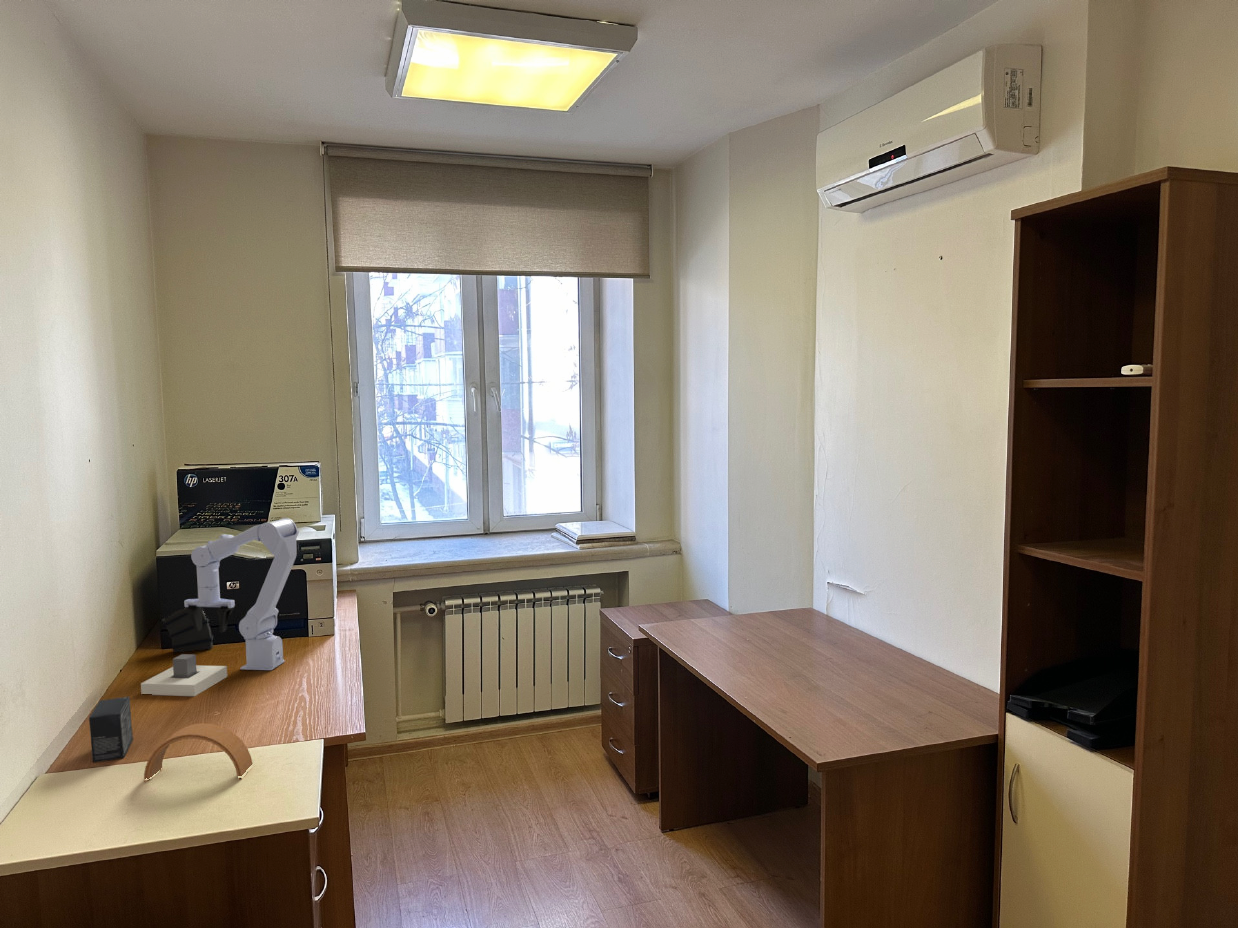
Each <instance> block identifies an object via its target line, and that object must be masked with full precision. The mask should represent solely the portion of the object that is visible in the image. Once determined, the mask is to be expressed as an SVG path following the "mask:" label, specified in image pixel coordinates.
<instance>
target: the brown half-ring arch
mask: <svg viewBox="0 0 1238 928" xmlns="http://www.w3.org/2000/svg"><path fill="white" fill-rule="evenodd" d="M189 739H191V740H192V739H197V740H203V741H206V742H208V743H212V744H213V745H215V746H216V747H219V749H221V750H222V751H223V752H224V753H225V754H226V755H227V756H228V757H229V759H230V760H231V762H232V764H233V766H234V768H235V771H236V777H237V776H242V775H243V774H244V773H245V772H246V770H247V769H248V768H249V767H250V766H251V765H252V764H254V763H253V759H252V755H251V753H250V751H249V748H248V747H247V746H246V744H245V742H244V741H243V740H242V739H241V738H240V737H239V736H238V735H237V734H236V733H234V732H232V730H230V729H227V728H226V727H223V726H221V725H218V724H213V723H195V724H190V725H188V726H184V727H182V728H180V729H179V730H177V731H176V732H174V733H173V734H171V736H169V737H168V738H167V739H166V740H165V741H164V742H162V743H161V744H160V745H159V746H157V747H156V749H155V750H153V752H152V753H151V755H150V756H149V758H148V759H147V763H146V765H145V767H144V768H145V769H144V773H143V780H144V779H146V778H147V779H149V778H150V777H152V776H153V775H154V774H156V773H157V772H158V771H159V770H161V768H162V769H163V761H164V756H165V754H166V752H167V750H168V748H169V747H170V745H172V744H173V743H177V742H178V741H181V740H189ZM161 771H162V770H161Z"/></svg>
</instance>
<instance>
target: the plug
mask: <svg viewBox="0 0 1238 928" xmlns="http://www.w3.org/2000/svg"><path fill="white" fill-rule="evenodd" d="M196 656H197V655H196V654H190V653H189V654H186V653H185V654H184V653H181V654H180V655H178V656H176V657H174V658H172V667H173V672H174V678H190V677H192V676H194V675H195V674H197V669H196V665H197V657H196Z"/></svg>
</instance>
